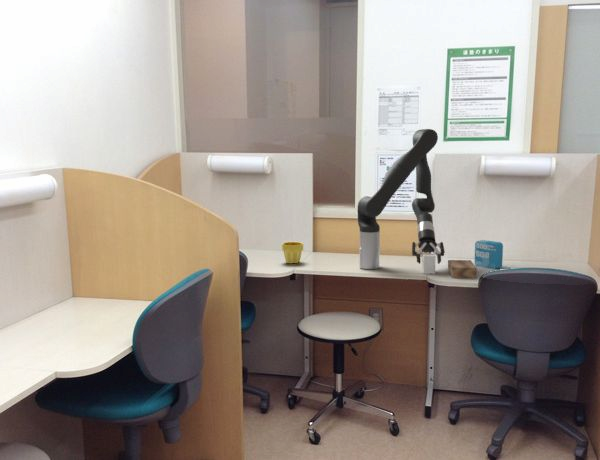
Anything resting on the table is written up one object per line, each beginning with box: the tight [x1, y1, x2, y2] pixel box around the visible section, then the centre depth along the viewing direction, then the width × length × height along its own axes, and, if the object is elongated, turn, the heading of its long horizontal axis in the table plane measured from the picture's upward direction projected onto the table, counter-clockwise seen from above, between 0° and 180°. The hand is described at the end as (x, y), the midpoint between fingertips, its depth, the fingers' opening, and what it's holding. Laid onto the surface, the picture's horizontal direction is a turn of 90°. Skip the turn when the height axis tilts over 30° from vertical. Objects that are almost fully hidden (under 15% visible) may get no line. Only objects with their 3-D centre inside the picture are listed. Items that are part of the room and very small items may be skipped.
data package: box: [473, 239, 504, 270], centre depth 273 cm, size 12×4×12 cm, turn 40°
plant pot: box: [281, 241, 304, 264], centre depth 288 cm, size 10×10×10 cm
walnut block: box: [447, 259, 478, 279], centre depth 260 cm, size 10×16×5 cm, turn 173°
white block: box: [421, 253, 437, 275], centre depth 263 cm, size 5×6×8 cm
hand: (429, 262), depth 262 cm, fingers open, 8 cm apart
